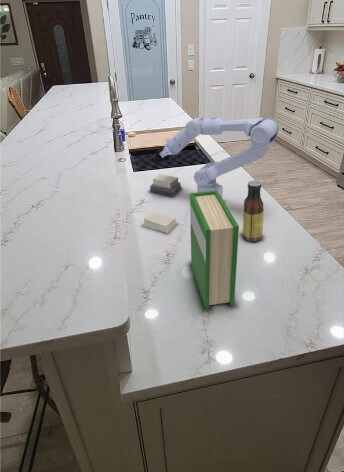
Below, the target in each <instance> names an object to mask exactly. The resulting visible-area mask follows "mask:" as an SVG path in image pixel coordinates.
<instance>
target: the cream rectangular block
mask: <svg viewBox="0 0 344 472" xmlns="http://www.w3.org/2000/svg"><path fill="white" fill-rule="evenodd" d="M143 221H144V222H143V227H145V228H149V229H151V230H154V231H159V232H161V233H165V234H168V233H169V232H170V231H171V230H172V229H173V228H175V226H176V224H177V223H176V218H175V217H172V216H169V215H167V214H163V213H160V212H156V211H152V213H150V214H149V215H147V216H146V217H145V218H144V219H143Z"/></svg>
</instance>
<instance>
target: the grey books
mask: <svg viewBox="0 0 344 472" xmlns="http://www.w3.org/2000/svg"><path fill="white" fill-rule="evenodd" d="M181 185H182V184H181V182H180V181H178V184H177V185H176V186H175V187H174V188H172V189H169V188H164V187H160V186H156V185H153V183H152V184H151V185H150V186H149V192H150V193H151V194H156V195H161V196H164V197H168V198H169V197H170V198H174V197H175V196H176V195H177V194H178V193H179V192H181V191H182V189H183V186H181Z"/></svg>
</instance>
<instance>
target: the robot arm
mask: <svg viewBox="0 0 344 472" xmlns="http://www.w3.org/2000/svg"><path fill="white" fill-rule="evenodd" d="M279 128H280V127H279V123H278V121H277V120H276V119H274V118H272V117H266V118H264V117H251V118H241V119H231V120H230V119H229V120H223V119H222V118H221V117H217V115H212V116H211V117H210V118H209V117H208V118H207V117H206V118H204V117H203V116H202V117H196V118H193V119H192V120H189V121H188V122H187V123H186V124H185V126H184V127H182V128H181V129H180V130H179V131H178V132H177V133H176V134H175V135H174V136H172V137H171V138H170V137H167V138H166V139H165V145H164V148H163V147H162V146H160V147H159V148H157V150H156V154H155V156H154V158H153V159H152V162H154V164H155V165H158V164H160V163H162V162H168V161H169V160H170V158H169V157H170V156H171V155H172V156H173V155H178V154H179V153H180V152H182V150H183V149H184V148H186V147H187V146H188V145H189V144H190V143H191V142H192V141H194V139H196V138H197V137H198V136H200V135H201V136H212V135H213V136H217V135H219V136H220V135H221V134H222V133H223V132H243V133H244V134H245V136H246V137H247V138H249V137H250V143H251V145H250V147H249V148H246V149H244V150H242V151H240V152H237V153H235V154H233V155H230V156H228V157H226V158H224V159H222V160H220V161H214V162H207V163H206V164H204V166H203V167H201V168H200V169H198V170H196V171H195V172H194V174H193V180H194V183H196V187H197V188H196V193H197V192H206V191H215V190H217V191H218V192H219V194H220V196H221V197H222V198H223V195H224V194H223V192H224V189H223V187H224V186H223V185H222V184H219V183H218V182H217V178H219V177H220V176H223V175H224V174H228V173H230V172H232V171H234V170H238V169H239V168H241V167H244V166H247V165H249V164H251V163H254V162H256V161H259V160H261V159H263V158H264V157H265V156H266V155H267V154H268V151H269V150H270V149H271V146H272V145H273V143H274V142H275V140H276V139H277V137H278V134H279Z"/></svg>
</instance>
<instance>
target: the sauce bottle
mask: <svg viewBox="0 0 344 472" xmlns="http://www.w3.org/2000/svg"><path fill="white" fill-rule="evenodd" d="M261 189H262V182H260V181H258V180H249V181H248V182H247V196H246V197H245V198H244V200H243V215H242V217H243V218H242V219H243V220H242V221H243V223H242V225H243V226H242V234H243V238H244V239H245V240H247V241H249V242H259V241H260V240H261V239H262V237H263V230H264V212H265V211H264V205H265V204H264V201H263V199H262V197H261Z"/></svg>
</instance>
